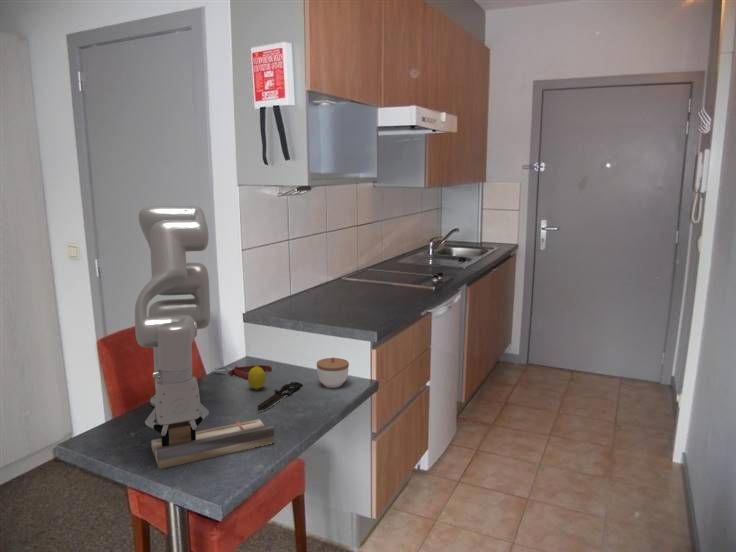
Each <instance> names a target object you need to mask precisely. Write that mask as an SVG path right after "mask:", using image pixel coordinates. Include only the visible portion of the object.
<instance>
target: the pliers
mask: <svg viewBox="0 0 736 552" xmlns="http://www.w3.org/2000/svg"><path fill="white" fill-rule="evenodd" d="M255 366H258V367H260V368H262V369H263V370H264V372H267V373H269V372H270V373H271V372H272V366H271V365H262V364H259V365H247V366H238V365H236V366H235V367H234V368H232V367H219V368H214V370H211V373H215V372H216V374H222V375H228V374H229V376H230V377H233V375H235V377H237V376H238V378H240V377H241V378H240V379H244V380H247V381H248V374H249V371H250V370H251V369H252V368H254V367H255Z"/></svg>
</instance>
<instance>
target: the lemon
mask: <svg viewBox="0 0 736 552" xmlns="http://www.w3.org/2000/svg"><path fill="white" fill-rule="evenodd" d="M254 366H255V367H254V368H252V369H251V370H250V371H249V372H248V373H249V374H248V380H247V381H248V384H249V386H250V387H251V388H253V389H255V390H256V391H257V390H259V389H260V388H262V387H263V386H264V385H265V383H266V373H265V371H264V370H263V369H262V368H260V367H258V366H256V365H254Z"/></svg>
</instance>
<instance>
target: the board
mask: <svg viewBox="0 0 736 552" xmlns="http://www.w3.org/2000/svg"><path fill="white" fill-rule="evenodd" d="M272 443H274V444H275V426H273V425H272V424H268V425H265V424H264V423H263V422H262V421H261V419H260V418H258V419H257V418H256V419H253V420H248V421H243V422H239V421H235V423H231V424H227V425H223V426H217V427H211V428H206V429H201V430H196V440H193V441H188V442H183V443H178V444H173V445H168V446H163V447H162V443H161V438H156V439H151V442H150V444H151V450H152V453H153V456H154V459H155V461H156V464H157V467H158V469H159V470H161V469H167V468H170V467H175V466H179V465H184V464H188V463H193V462H197V461H201V460H202V461H203V460H207V459H211V458H215V457H219V456H220V457H221V456H225V455H229V454H233V453H238V452H242V451H243V452H244V451H248V450H252V449H256V448H255V447H257V448H260V447H259V446H261V447H265V446H264V445H266V446H268V444H270V445H273V444H272ZM247 449H248V450H247Z"/></svg>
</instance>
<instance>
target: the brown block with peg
mask: <svg viewBox="0 0 736 552" xmlns="http://www.w3.org/2000/svg"><path fill="white" fill-rule="evenodd" d="M167 433H168V435H169V445H173V444H178V443H183V442H188V441H191V425H190V423H189V421H186V422H181V423H175V424H170V425H168V429H167Z"/></svg>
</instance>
